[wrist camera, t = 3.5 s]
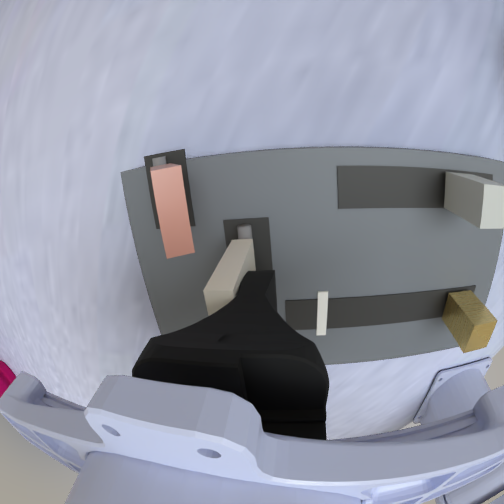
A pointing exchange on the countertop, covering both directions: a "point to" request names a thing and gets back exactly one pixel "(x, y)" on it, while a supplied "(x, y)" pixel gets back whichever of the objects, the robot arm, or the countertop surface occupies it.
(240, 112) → the countertop surface
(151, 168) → the rocker brick
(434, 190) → the console
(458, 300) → the slider brass
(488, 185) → the slider grey
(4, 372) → the pepper mill
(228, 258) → the rocker ivory
